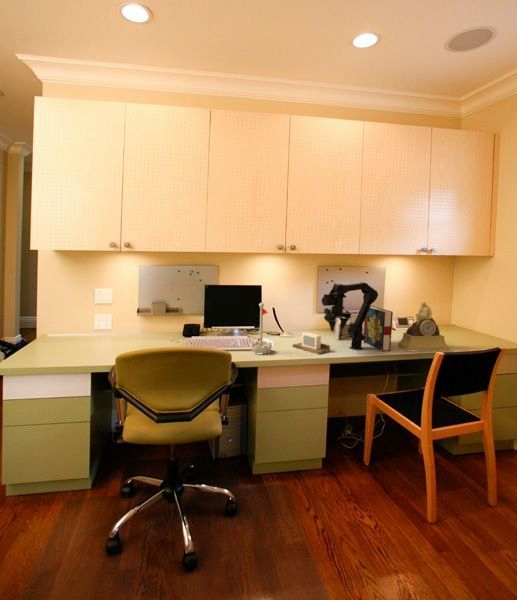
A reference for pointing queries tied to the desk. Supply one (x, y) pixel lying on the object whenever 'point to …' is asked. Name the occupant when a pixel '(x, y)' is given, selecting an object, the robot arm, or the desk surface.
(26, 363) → the desk surface
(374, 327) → the book
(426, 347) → the decorative clock
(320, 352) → the picture ledge
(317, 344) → the picture frame
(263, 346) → the flag stand
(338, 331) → the decorative sign
